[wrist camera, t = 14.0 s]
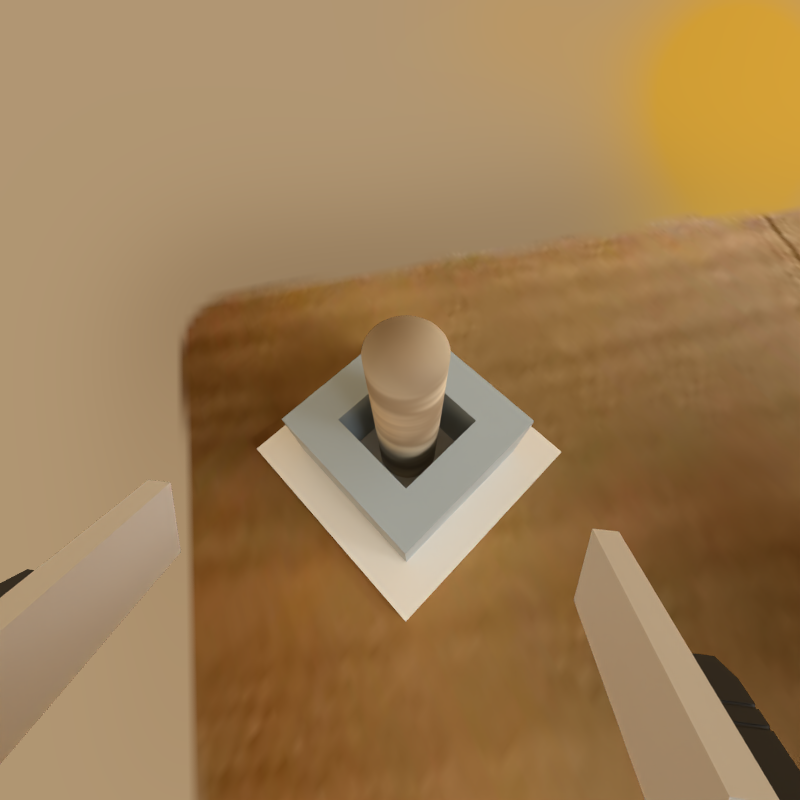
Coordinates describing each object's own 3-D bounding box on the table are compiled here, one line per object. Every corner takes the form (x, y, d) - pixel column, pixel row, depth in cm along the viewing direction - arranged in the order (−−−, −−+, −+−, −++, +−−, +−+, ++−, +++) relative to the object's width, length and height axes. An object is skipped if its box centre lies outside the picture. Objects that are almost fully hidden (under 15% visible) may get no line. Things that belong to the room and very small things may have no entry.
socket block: (409, 331, 38) (408, 275, 31) (556, 456, 33) (592, 421, 26) (261, 453, 33) (225, 418, 27) (405, 620, 28) (404, 627, 22)
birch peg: (408, 415, 33) (406, 301, 20) (446, 451, 32) (469, 352, 19) (369, 450, 32) (342, 352, 19) (407, 489, 31) (405, 410, 18)
